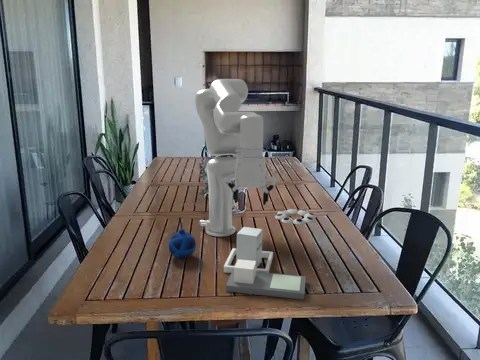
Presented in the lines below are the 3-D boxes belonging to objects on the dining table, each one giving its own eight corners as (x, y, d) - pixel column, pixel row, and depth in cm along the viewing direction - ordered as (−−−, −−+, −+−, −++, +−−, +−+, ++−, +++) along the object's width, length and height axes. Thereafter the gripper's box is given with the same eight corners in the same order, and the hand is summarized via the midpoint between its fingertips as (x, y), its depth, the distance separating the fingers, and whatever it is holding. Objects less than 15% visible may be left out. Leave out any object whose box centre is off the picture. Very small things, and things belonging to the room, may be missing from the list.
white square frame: (223, 272, 144) (223, 266, 143) (232, 253, 158) (232, 248, 157) (267, 276, 141) (267, 270, 140) (272, 257, 155) (272, 251, 154)
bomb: (189, 248, 162) (188, 211, 158) (200, 260, 152) (199, 221, 148) (164, 253, 157) (163, 215, 153) (173, 265, 148) (172, 225, 144)
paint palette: (302, 228, 184) (302, 224, 184) (266, 218, 196) (266, 214, 196) (324, 217, 198) (325, 213, 198) (290, 208, 211) (290, 204, 210)
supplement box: (255, 271, 145) (256, 236, 141) (235, 267, 147) (235, 233, 144) (262, 262, 151) (263, 228, 148) (242, 258, 154) (243, 226, 151)
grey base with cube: (225, 291, 131) (226, 270, 130) (233, 274, 142) (233, 255, 140) (304, 299, 127) (305, 278, 125) (305, 281, 138) (306, 262, 136)
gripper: (222, 153, 137) (223, 204, 141) (276, 156, 134) (274, 207, 138) (227, 149, 144) (227, 198, 148) (278, 151, 141) (277, 201, 145)
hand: (250, 202), depth 143 cm, fingers open, 9 cm apart
